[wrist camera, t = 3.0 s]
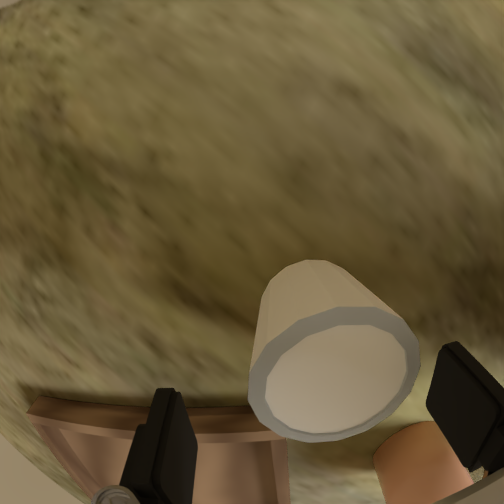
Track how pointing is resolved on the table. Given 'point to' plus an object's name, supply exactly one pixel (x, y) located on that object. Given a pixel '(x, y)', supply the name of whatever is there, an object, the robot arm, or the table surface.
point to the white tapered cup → (327, 355)
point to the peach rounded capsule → (419, 466)
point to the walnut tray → (208, 456)
